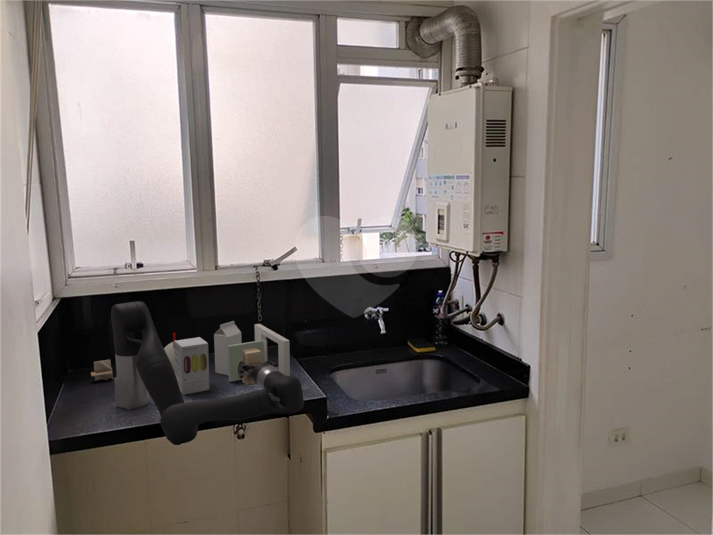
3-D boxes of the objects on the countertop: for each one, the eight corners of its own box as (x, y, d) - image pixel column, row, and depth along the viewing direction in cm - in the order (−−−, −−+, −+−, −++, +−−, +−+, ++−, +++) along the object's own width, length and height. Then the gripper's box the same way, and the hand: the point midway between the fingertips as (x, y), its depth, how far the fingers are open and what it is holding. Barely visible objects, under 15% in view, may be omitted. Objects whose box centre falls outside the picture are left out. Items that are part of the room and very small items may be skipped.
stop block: (261, 382, 190) (261, 351, 189) (247, 385, 188) (246, 353, 186) (256, 378, 195) (255, 347, 193) (242, 381, 192) (241, 349, 190)
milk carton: (242, 370, 214) (241, 322, 211) (229, 376, 208) (227, 326, 205) (229, 367, 218) (227, 319, 215) (215, 372, 212) (213, 323, 209)
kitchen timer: (194, 365, 220) (193, 327, 218) (196, 376, 208) (194, 337, 205) (156, 368, 216) (154, 330, 214) (155, 380, 203) (153, 340, 201)
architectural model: (113, 381, 204) (112, 362, 202) (92, 385, 200) (90, 365, 199) (112, 378, 206) (110, 359, 205) (91, 382, 203) (90, 362, 202)
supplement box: (182, 395, 190) (180, 347, 187) (174, 387, 197) (172, 340, 195) (210, 389, 195) (208, 342, 192) (201, 381, 203) (200, 336, 200)
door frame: (255, 370, 214) (254, 324, 211) (260, 369, 215) (259, 323, 212) (284, 392, 192) (283, 341, 190) (290, 391, 193) (289, 340, 191)
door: (265, 372, 211) (264, 338, 209) (268, 374, 209) (267, 340, 206) (227, 379, 203) (226, 344, 201) (230, 381, 201) (229, 346, 199)
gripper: (246, 393, 175) (228, 376, 189) (289, 384, 183) (268, 369, 197) (246, 370, 174) (227, 355, 188) (288, 362, 181) (268, 348, 196)
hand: (248, 362), depth 192 cm, fingers closed on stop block, 5 cm apart
